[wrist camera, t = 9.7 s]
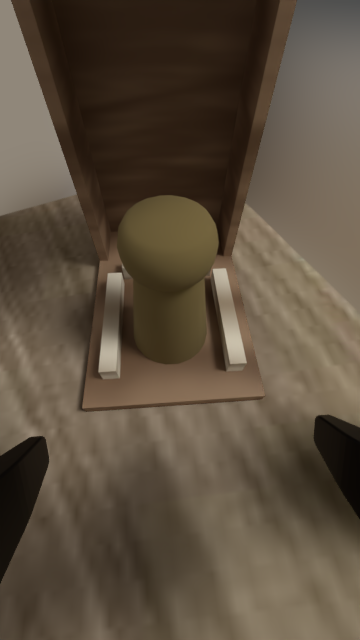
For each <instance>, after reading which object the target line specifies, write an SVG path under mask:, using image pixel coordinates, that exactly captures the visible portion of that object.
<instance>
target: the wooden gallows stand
mask: <svg viewBox="0 0 360 640" xmlns="http://www.w3.org/2000/svg"><path fill="white" fill-rule="evenodd" d="M11 1H12V4H13V7H14V10H15V13H16V16H17V19H18V22H19V25H20V28H21V31H22V34H23V36H24V40H25V43H26V45H27V48H28V51H29V54H30V57H31V60H32V63H33V66H34V69H35V72H36V75H37V77H38V80H39V84H40V86H41V89H42V92H43V95H44V98H45V101H46V104H47V107H48V110H49V113H50V116H51V119H52V122H53V125H54V127H55V130H56V133H57V136H58V139H59V142H60V145H61V148H62V151H63V154H64V157H65V160H66V163H67V166H68V169H69V172H70V175H71V177H72V180H73V183H74V186H75V189H76V192H77V195H78V198H79V201H80V204H81V207H82V210H83V213H84V216H85V219H86V222H87V224H88V227H89V230H90V233H91V236H92V239H93V242H94V245H95V248H96V251H97V254H98V257H99V260H100V264H99V273H98V281H97V289H96V298H95V306H94V314H93V322H92V331H91V339H90V347H89V356H88V364H87V372H86V380H85V389H84V397H83V405H82V409H83V410H85V411H86V412H88V411H102V410H117V409H131V408H145V407H160V406H174V405H188V404H203V403H217V402H231V401H245V400H260V399H262V398H263V397H264V396H265V393H264V388H263V384H262V380H261V376H260V372H259V368H258V364H257V360H256V356H255V351H254V347H253V343H252V339H251V335H250V331H249V327H248V323H247V319H246V314H245V310H244V306H243V302H242V298H241V294H240V290H239V286H238V282H237V278H236V273H235V269H234V265H233V261H232V257H231V255H232V251H233V247H234V243H235V239H236V235H237V231H238V228H239V224H240V220H241V216H242V212H243V208H244V204H245V200H246V196H247V193H248V188H249V185H250V181H251V177H252V173H253V169H254V165H255V161H256V157H257V154H258V150H259V145H260V142H261V138H262V134H263V130H264V127H265V123H266V119H267V115H268V111H269V107H270V103H271V99H272V95H273V91H274V88H275V84H276V80H277V76H278V72H279V68H280V64H281V60H282V56H283V52H284V49H285V45H286V41H287V37H288V33H289V29H290V25H291V21H292V17H293V14H294V10H295V6H296V2H297V0H11ZM160 195H173V196H179V197H185V198H188V199H190V200H193V201H195V202H197V203H199V204H200V205H201V206H203V207H204V208H205V209H206V210H207V211H208V213H209V214H210V216H211V217H212V219H213V221H214V222H215V224H216V228H217V233H218V241H219V245H218V250H217V254H216V258H215V262H214V264H213V266H212V268H211V269H210V271H209V272H208V274H207V275H206V276H205V277H204V279H205V303H206V327H207V335H206V339H205V343H204V345H203V347H202V348H201V350H200V351H199V353H197V354H196V355H195V356H194V357H192V358H191V359H190V360H187V361H185V362H182V363H179V364H162V363H158V362H154V361H152V360H151V359H149V358H147V357H146V356H144V355H143V354H142V352H141V351H140V350H139V349H138V347H137V345H136V342H135V339H134V315H133V278H132V277H131V276H130V275H129V274H128V273H127V271H126V270H125V268H124V267H123V264H122V262H121V259H120V256H119V253H118V249H117V237H118V227H119V225H120V223H121V221H122V219H123V217H124V215H125V214H126V212H127V210H129V209H130V208H131V207H132V206H133V205H134V204H136V203H138V202H140V201H142V200H144V199H146V198H151V197H155V196H160Z"/></svg>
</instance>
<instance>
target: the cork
mask: <svg viewBox="0 0 360 640" xmlns="http://www.w3.org/2000/svg"><path fill="white" fill-rule="evenodd" d="M218 245H219V241H218V233H217V228H216V224H215V222H214V221H213V219H212V217H211V216H210V214H209V213H208V211H207V210H206V209H205V208H204V207H203V206H201V205H200V204H199V203H197V202H195V201H193V200H190V199H188V198H185V197H179V196H173V195H160V196H155V197H151V198H146V199H144V200H142V201H140V202H138V203H136V204H134V205H133V206H132V207H131V208H130V209H129V210H127V212H126V214H125V215H124V217H123V219H122V221H121V223H120V225H119V227H118V237H117V249H118V253H119V256H120V259H121V262H122V264H123V267H124V268H125V270H126V271H127V273H128V274H129V275H130V276H131V277H132V278H133V315H134V339H135V342H136V345H137V347H138V349H139V350H140V351H141V352H142V354H143V355H144V356H146V357H147V358H149V359H151V360H152V361H154V362H158V363H162V364H179V363H182V362H185V361H187V360H190V359H191V358H192V357H194V356H195V355H196V354H197V353H199V351H200V350H201V348H202V347H203V345H204V343H205V339H206V335H207V327H206V303H205V279H204V277H205V276H206V275H207V274H208V272H209V271H210V269H211V268H212V266H213V264H214V262H215V258H216V254H217V250H218Z"/></svg>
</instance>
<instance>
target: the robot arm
mask: <svg viewBox="0 0 360 640" xmlns="http://www.w3.org/2000/svg"><path fill="white" fill-rule="evenodd" d="M314 442H315V444H316V446H317V448H318V450H319V452H320V454H321V456H322V457H323V459H324V461H325V463H326V465H327V467H328V468H329V470H330V472H331V474H332V476H333V478H334V479H335V481H336V483H337V485H338V486H339V488H340V490H341V491H342V493H343V495H344V496H345V498H346V499H347V501H348V502H349V504H350V505H351V507H352V508H353V510H354V511H355V513H356V514H357V516H358V517H359V519H360V427H357V426H355V425H352V424H350V423H348V422H345V421H343V420H341V419H338V418H336V417H334V416H331V415H318V416H317V417H316V418H315V426H314ZM48 464H49V455H48V449H47V444H46V439H45V437H43V436H37V437H30V438H28V439H26V440H25V441H23V442H22V443H20V444H18V445H17V446H15V447H14V448H12V449H11V450H9V451H7V452H6V453H4V454H3V455H1V456H0V583H1V581H2V579H3V576H4V574H5V572H6V570H7V568H8V565H9V563H10V561H11V559H12V557H13V554H14V552H15V550H16V548H17V546H18V543H19V541H20V539H21V537H22V535H23V532H24V530H25V528H26V526H27V523H28V521H29V519H30V516H31V514H32V511H33V508H34V505H35V502H36V499H37V497H38V494H39V491H40V488H41V485H42V482H43V479H44V476H45V474H46V471H47V468H48Z"/></svg>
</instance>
